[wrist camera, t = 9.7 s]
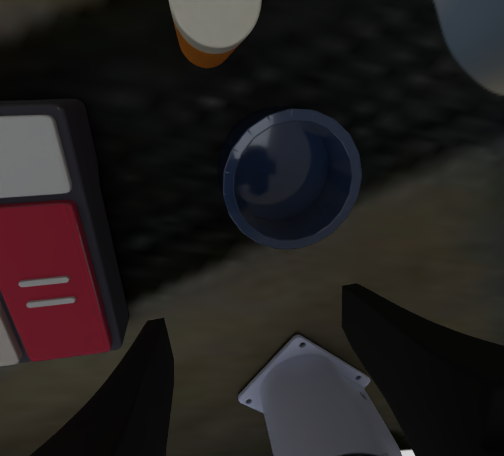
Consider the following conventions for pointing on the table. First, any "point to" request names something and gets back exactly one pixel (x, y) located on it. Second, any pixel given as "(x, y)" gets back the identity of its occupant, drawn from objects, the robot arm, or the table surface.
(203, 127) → the table surface
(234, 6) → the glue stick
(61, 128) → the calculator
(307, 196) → the dark blue round bowl
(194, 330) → the table surface
